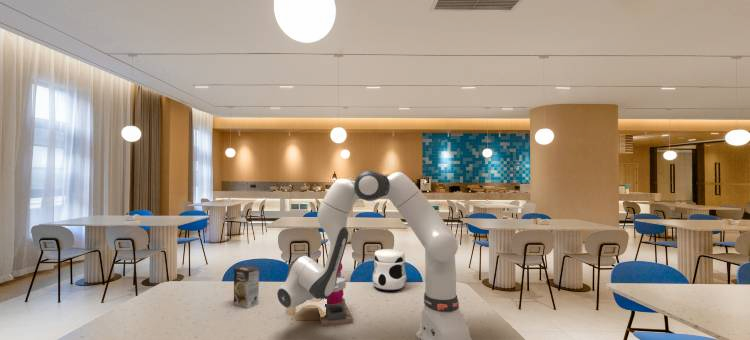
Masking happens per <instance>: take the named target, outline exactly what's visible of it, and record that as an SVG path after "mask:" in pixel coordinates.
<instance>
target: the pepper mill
mask: <svg viewBox="0 0 750 340" xmlns="http://www.w3.org/2000/svg"><path fill="white" fill-rule="evenodd" d="M342 270H343V264H342V262H341V264H340V267H339V271H338V274H337V277H338V278H339V277H340V276H342V272H341V271H342ZM342 297H343V298H344V289H342V290H340V291H337V292H332V293H331V295H330V296H328V302H327V304H338V303H341V302H342V299H341V298H342Z"/></svg>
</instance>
